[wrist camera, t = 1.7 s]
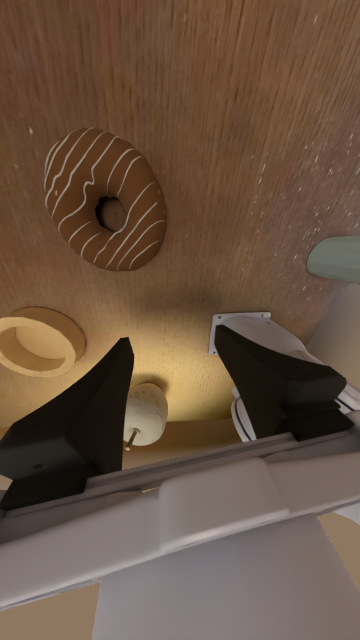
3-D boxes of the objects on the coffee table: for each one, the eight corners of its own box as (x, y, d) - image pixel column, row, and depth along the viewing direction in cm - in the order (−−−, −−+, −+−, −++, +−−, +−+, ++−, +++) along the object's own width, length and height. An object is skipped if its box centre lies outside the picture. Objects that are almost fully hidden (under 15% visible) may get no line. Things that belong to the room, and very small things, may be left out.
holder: (72, 305, 19) (58, 315, 17) (93, 360, 24) (85, 374, 21) (-10, 308, 18) (-38, 319, 16) (29, 364, 23) (12, 380, 20)
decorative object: (168, 398, 31) (171, 458, 22) (128, 403, 30) (113, 467, 22) (165, 369, 27) (166, 430, 18) (117, 374, 26) (94, 440, 17)
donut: (174, 259, 18) (177, 263, 14) (92, 277, 18) (75, 285, 14) (151, 134, 13) (146, 92, 9) (36, 158, 13) (-12, 125, 9)
